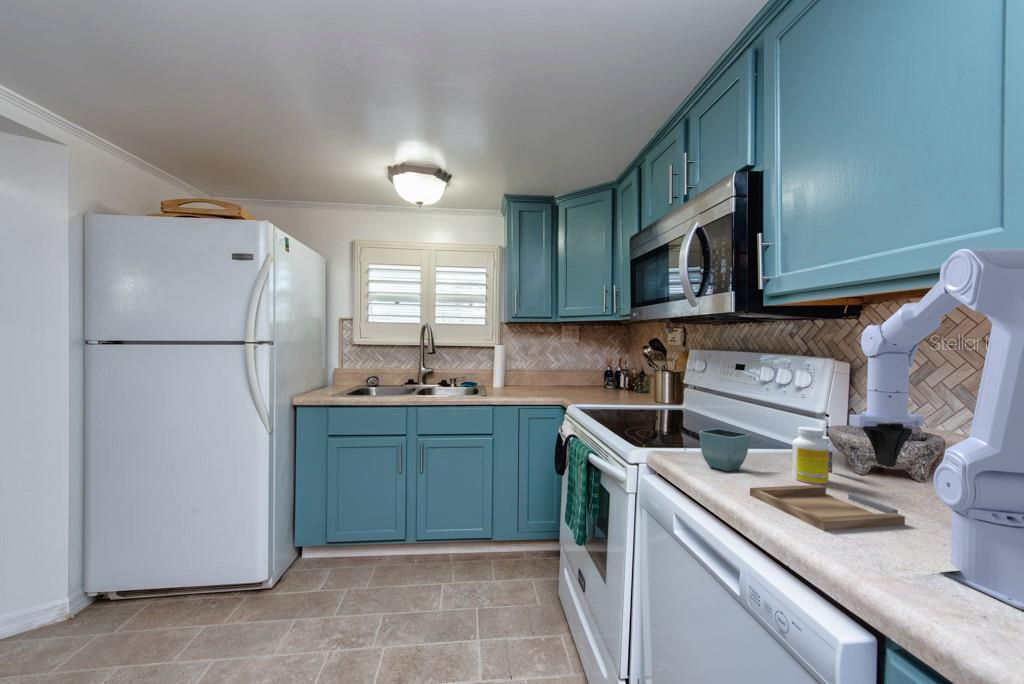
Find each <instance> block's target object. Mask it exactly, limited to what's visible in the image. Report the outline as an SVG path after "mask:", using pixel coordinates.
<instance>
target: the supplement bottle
mask: <svg viewBox="0 0 1024 684" xmlns="http://www.w3.org/2000/svg"><path fill="white" fill-rule="evenodd" d="M797 433H798V437H796V438H795V439H793V440H792V446H791V447H792V449H791V450H792V451H791V452H792V455H791V457H792V458H791V479H792V480H794V481H797V482H800V483H804V484H807V485H821V486H826V485H829V472H828V467H829V444H827V443H826V442H824V441H823V440H822V437H823V436H825V432H824V429H823V428H818V427H810V426H798V428H797Z"/></svg>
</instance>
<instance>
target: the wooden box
mask: <svg viewBox="0 0 1024 684" xmlns="http://www.w3.org/2000/svg"><path fill="white" fill-rule="evenodd" d="M749 496H751V497H752V498H754V499H756V500H758V501H760V502H762V503H765V504H766V505H769V506H771V507H773V508H776V509H777V510H780V511H782V512H783V513H786V514H787V515H789V516H791V517H794V518H796V519H798V520H800V521H802V522H805V523H806V524H808V525H811V526H812V527H814V528H816V529H819V530H821V531H823V532H826V531H840V530H857V529H858V530H859V529H869V528H884V527H886V528H887V527H899V526H900V527H902V526H905V524H906V523H905V522H906V519H905V518H906V516H904V515H901V514H899V513H898V514H897V513H884V512H882V513H874V512H872V511H870V510H867V509H864V508H862V507H859V506H858V505H857V506H856V505H854V504H852V503H849V502H847V501H844V500H841V499H838V498H836V497H833V496H831V495H829V494H827V487H826V486H825V485H814V484H807V485H806V484H805V485H786V486H785V485H784V486H783V485H782V486H781V485H780V486H763V487H761V486H759V487H749Z"/></svg>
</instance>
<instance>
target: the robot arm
mask: <svg viewBox="0 0 1024 684" xmlns="http://www.w3.org/2000/svg"><path fill="white" fill-rule="evenodd" d="M963 304H964V305H965V306H966V307H968V308H969V309H970V310H972V311H973V312H976V313H978V314H979V313H980V314H982V315H984V316H985V317H986V318H987V319H988V321H990V322H991V330H990V334H989V340H988V343H987V344H988V345H987V350H986V355H985V360H984V365H983V369H982V374H981V380H980V384H979V388H978V394H977V398H976V399H977V400H976V403H975V408H974V409H975V410H974V414H973V418H972V423H971V428H970V434H969V437H968V438H966V439H964V440H962V441H959V442H958V443H956V444H954V445H951V446H950V447H947V448H946V449H945V450H944V453H943V454H944V455H943V459H942V461H941V462H940V463H939V465H938V466H937V467H936V469H935V470H934V474H933V486H934V490H935V492H936V494H937V496H938V497H939V499H940V500H941V501H942V503H943V504H944V505H945V507H946V508H948V509H951V532H950V541H951V543H950V563H951V565H952V566H953V567H954V568H956V569H957V570H949V571H941V572H939V573H941V574H942V575H944V576H947V577H949V578H951V579H953V580H956V581H958V582H960V583H962V584H965V585H966V586H969V587H971V588H973V589H976V590H978V591H980V592H982V593H984V594H987V595H989V596H991V597H994V598H995V599H998V600H1000V601H1003V602H1004V603H1006V604H1009V605H1011V606H1014V607H1015V608H1018V609H1020V610H1023V611H1024V247H1023V248H1020V247H1019V248H987V249H986V248H985V249H984V248H983V249H981V248H979V249H977V248H976V249H973V248H971V247H970V248H968V247H967V248H960V249H958V250H956V251H954V252H953V253H952V254H951V255H950V256H949V257H948V258H947V260H946V261H944V262H943V263H942V264H941V268H940V272H939V281H937V282H936V284H935V285H933V287H932V288H931V289H930V290H929V291H928V292H927V293H926V294H925V295H924V296H923V297H922V299H920V300H919V301H917V302H907V303H904V304H902V306H901V307H900V308H899V309H898V310H897V311H896V312H894V313H893V314H892V315H891V316H890V317H889V318H888V319H886V321H884V322H883V323H882V324H875V325H874V324H872V325H867V326H866V328H864V330H863V332H862V333H861V334H862V335H861V338H860V339H861V340H860V345H861V346H860V347H861V349H862V352H863V354H864V355H865V356H867V387H866V388H867V389H866V393H867V395H866V397H867V398H866V411H862V412H861V413H856V414H849V421H848V423H849V426H852V427H857V428H861V429H862V430H863V432H864V434H865V435H866V436H867V438H868V440H869V441H870V444H871V447H872V450H873V452H874V456H875V461H876V464H877V465H881V466H884V467H889V468H894V467H895V465H896V463H897V461H898V457H899V456H900V455H899V454H900V453H901V450H902V448H903V447H904V444H906V442H907V440H908V439H909V438H910V437H911V435H913V429H912V428H908V427H906V426H916V427H924V425H925V415H920V414H913V413H909V393H910V392H909V388H910V368H912V367H913V365H914V358H915V355H916V353H917V351H918V349H919V346H920V345H919V343H920V342H922V341H923V340H924V339H925V338H927V337H929V336H930V335H931V334H933V333H934V332H935V331H937V330H938V329H940V327H941V325H942V320H943V319H942V317H943V316H945V315H947V314H948V313H950V312H952V311H953V310H955V309H957V308H959V307H960V306H962V305H963Z"/></svg>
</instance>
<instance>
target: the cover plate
mask: <svg viewBox="0 0 1024 684" xmlns="http://www.w3.org/2000/svg"><path fill="white" fill-rule="evenodd" d="M847 498H848V500H850V501H852V502H855V503H858V504H860V505H864V506H866V507H868V508H871V509H874V510H877V511H880V512H881V513H897V514H899V511H898V509H897V508H894V507H891V506H888V505H885V504H883V503H879V502H877V501H875V500H872V499H869V498H866V497H863V496H860V495H857V494H854V493H848V495H847Z"/></svg>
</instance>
